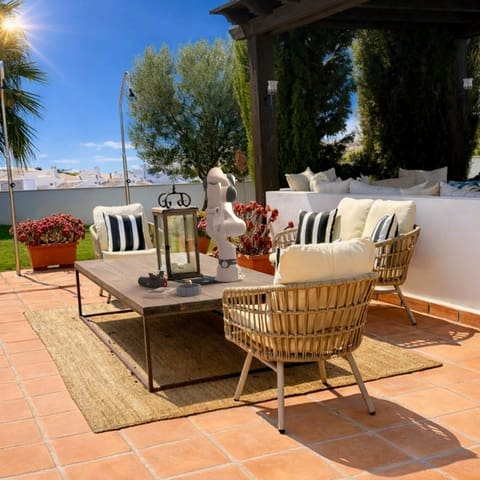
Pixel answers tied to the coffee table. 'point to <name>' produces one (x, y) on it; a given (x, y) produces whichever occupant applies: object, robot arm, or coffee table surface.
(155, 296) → the cradle
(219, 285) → the coffee table surface
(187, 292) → the blue-gray round bowl
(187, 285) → the cell
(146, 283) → the laser sight
